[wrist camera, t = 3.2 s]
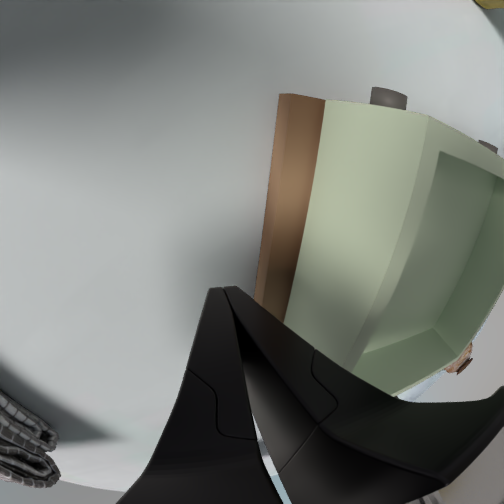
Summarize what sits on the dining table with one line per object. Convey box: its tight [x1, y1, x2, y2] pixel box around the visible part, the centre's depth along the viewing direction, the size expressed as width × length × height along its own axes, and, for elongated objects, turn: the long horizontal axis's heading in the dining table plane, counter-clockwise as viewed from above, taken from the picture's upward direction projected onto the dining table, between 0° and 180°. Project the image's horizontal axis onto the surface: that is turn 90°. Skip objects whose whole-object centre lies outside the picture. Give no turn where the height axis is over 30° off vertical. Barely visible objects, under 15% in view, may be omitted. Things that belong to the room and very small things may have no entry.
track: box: [254, 94, 326, 323], centre depth 14 cm, size 12×24×1 cm, turn 84°
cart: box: [284, 87, 504, 397], centre depth 10 cm, size 14×12×4 cm
